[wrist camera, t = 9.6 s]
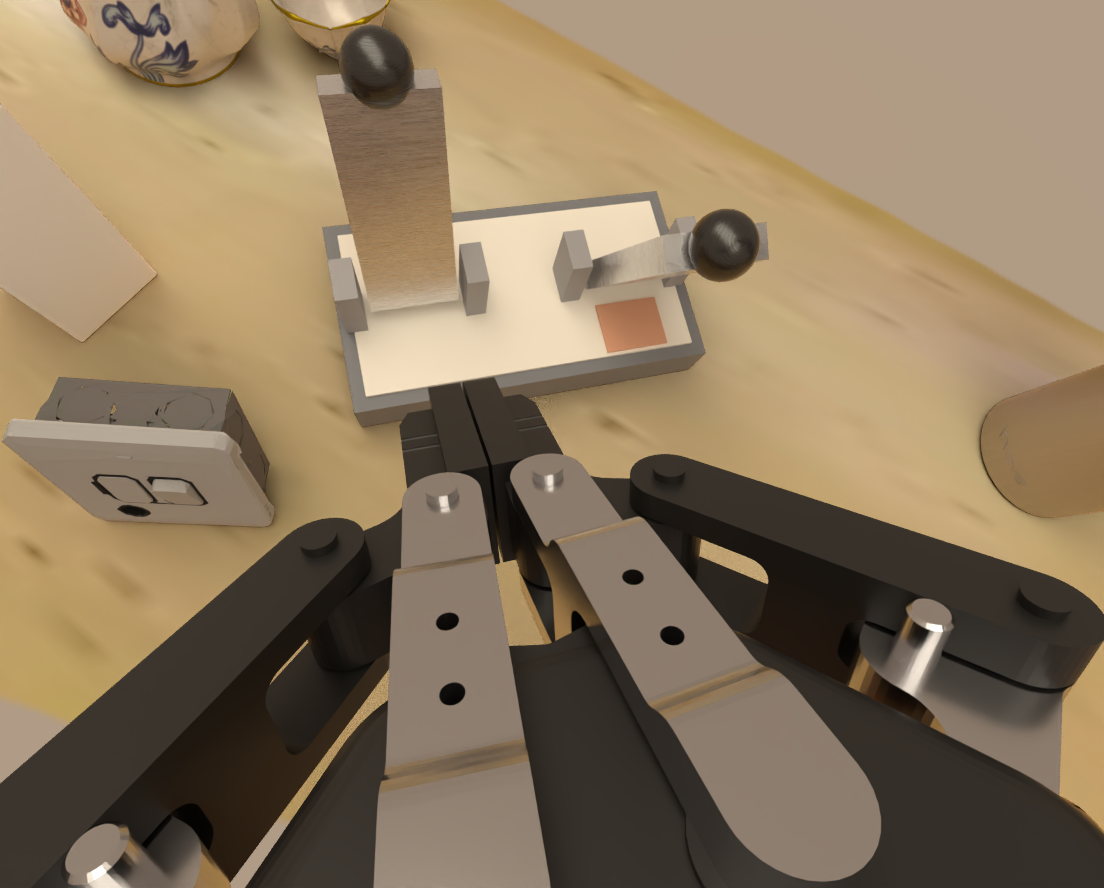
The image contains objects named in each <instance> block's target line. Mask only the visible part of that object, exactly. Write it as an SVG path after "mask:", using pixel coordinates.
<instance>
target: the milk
mask: <svg viewBox="0 0 1104 888" xmlns="http://www.w3.org/2000/svg"><path fill="white" fill-rule="evenodd" d="M156 275H157V273H156V272H155V270H154V269H153V268H152V267H151V266H150V265H149V264H148V263H147V262H146V261H145V260H144V258H143V257H142V256H141V255H140V254H139V253H138V252H137V251H136V250H135V249H134V248H133V246H132V245H131V244H130V243H129V242H128V241H127V240H126V239H125V238H124V237H123V236H122V235H121V233H120V232H119V231H118V230H117V229H116V228H115V227H114V226H113V225H112V224H111V223H110V222H109V220H108V219H107V218H106V217H105V216H104V215H103V214H102V213H101V212H100V211H99V210H98V209H97V207H96V206H95V205H94V204H93V203H92V202H91V201H90V200H89V199H88V198H87V197H86V195H85V194H84V193H83V192H82V191H81V190H80V189H79V188H78V187H77V186H76V185H75V184H74V182H73V181H72V180H71V179H70V178H69V177H68V176H67V175H66V174H65V173H64V172H63V171H62V169H61V168H60V167H59V166H58V165H57V164H56V163H55V162H54V161H53V160H52V159H51V158H50V156H49V155H48V154H47V153H46V152H45V151H44V150H43V149H42V148H41V147H40V146H39V144H38V143H37V142H36V141H35V140H34V139H33V138H32V137H31V136H30V135H29V134H28V133H27V131H26V130H25V129H24V128H23V127H22V126H21V125H20V124H19V123H18V122H17V121H16V120H15V118H14V117H13V116H12V115H11V114H10V113H9V112H8V111H7V110H6V109H5V108H4V106H3V105H2V104H1V103H0V288H2V289H3V290H5V291H6V292H8V293H9V294H11V295H12V296H13V297H15V298H16V299H18V300H19V301H21V302H22V303H24V304H25V305H27V306H28V307H30V308H31V309H33V310H34V311H36V312H37V313H39V314H40V315H42V316H43V317H45V318H46V319H47V320H49V321H50V322H52V323H53V324H55V325H56V326H58V327H59V328H61V329H62V330H64V331H65V332H67V333H68V334H70V335H71V336H73V337H74V338H76V339H77V340H79V341H80V342H84V341H85V340H86V339H87V338H88V337H89V336H91V335H92V334H93V333H94V332H95V331H96V330H97V329H98V328H99V327H100V326H102V325H103V324H104V323H105V322H106V321H107V320H108V319H109V318H110V317H111V316H112V315H114V314H115V313H116V312H117V311H118V310H119V309H120V308H121V307H122V306H123V305H124V304H126V303H127V302H128V301H129V300H130V299H131V298H132V297H133V296H134V295H135V294H137V293H138V292H139V291H140V290H141V289H142V288H143V287H144V286H145V285H146V284H147V283H149V282H150V281H151V280H152V279H153V278H154V277H155V276H156Z"/></svg>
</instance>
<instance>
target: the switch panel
mask: <svg viewBox="0 0 1104 888" xmlns="http://www.w3.org/2000/svg"><path fill="white" fill-rule="evenodd" d="M696 224H697V223H696V220H695V217H694V216H692V217H684V218H676V219H675V221H674V222H673V224H672V226H671V227H670V229H669V231H668V227H667V224H666V221H665V217H664V214H663V211H662V208H661V204H660V201H659V198H658V194H657V191H653V192H644V193H635V194H626V195H616V196H607V197H598V198H589V199H579V200H570V201H561V202H552V203H542V204H533V205H524V206H515V207H505V208H496V209H487V210H478V211H469V212H459V213H452V225H453V238H454V251H455V264H456V277H457V290H458V300H455V301H448V302H440V303H433V304H426V305H419V306H411V307H404V308H397V309H390V310H383V311H375V312H371V308H370V304H369V300H368V296H367V292H366V288H365V284H364V280H363V275H362V271H361V267H360V263H359V259H358V255H357V251H356V247H355V243H354V239H353V235H352V230H351V226H350V224H348V225H339V226H330V227H322V229H323V235H324V241H325V246H326V252H327V258H328V260H327V261H328V267H329V272H330V278H331V284H332V290H333V296H334V301H335V304H336V310H337V316H338V322H339V328H340V333H341V339H342V345H343V351H344V357H345V362H346V368H347V374H348V380H349V386H350V391H351V397H352V403H353V409H354V414H355V415H356V417H357V419H358V421H359V423H360V425H361V426H362V427H366V426H372V425H378V424H383V423H389V422H394V421H400V420H404V418H405V416H406V415H407V413H410V412H416V411H422V410H428V409H431V405H430V400H429V394H428V387H434V386H441V385H447V384H453V383H460V384H461V387H462V382H466V381H472V380H478V379H485V378H491V377H494V378H495V379H496V381H497V384H498V386H499V388H500V390H501V392H502V395H503V397H506V396H512V395H518V394H521V395H523V396H525V397H526V398H530V397H536V396H542V395H547V394H553V393H559V392H564V391H570V390H576V389H581V388H587V387H593V386H598V385H604V384H609V383H615V382H621V381H626V380H632V379H638V378H643V377H649V376H655V375H660V374H666V373H672V372H677V371H683V370H688V369H689V368H690V367H691V366H692V365H693V364H694V363H696V362H697V361H698V360H699V359H700V358H701V357H702V356H703V355H704V354H705V349H704V346H703V343H702V339H701V336H700V333H699V329H698V326H697V323H696V320H695V316H694V313H693V310H692V306H691V303H690V300H689V297H688V293H687V290H686V287H685V283H684V280H685V279H686V277H687V276H688V275H689V274H686V275H681V276H675V277H670V278H665V279H659V280H652V281H645V282H638V283H631V284H624V285H617V286H609V287H602V288H595V289H588V290H586V289H585V285H586V283H587V281H588V278H589V276H590V274H591V271H592V269H593V263H592V260H594V259H596V258H599V257H602V256H605V255H608V254H611V253H614V252H616V251H619V250H622V249H625V248H628V247H631V246H634V245H636V244H639V243H642V242H645V241H648V240H651V239H653V238H656V237H659V236H662V235H668V234H676V233H684V232H692V230H693V228H694V227H695V225H696ZM462 390H463V389H462Z"/></svg>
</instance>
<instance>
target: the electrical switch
mask: <svg viewBox="0 0 1104 888" xmlns="http://www.w3.org/2000/svg"><path fill="white" fill-rule="evenodd" d="M82 386H83V388H81V387H82ZM79 388H80V389H79ZM105 392H107V393H105ZM230 392H231V390H230V389H221V388H207V387H193V386H178V385H164V384H150V383H136V382H122V381H108V380H94V379H80V378H65V377H59V378H58V380H57V382H56V384H55V386H54V389H53V391H52V393H51V395H50V397H49V399H48V400H47V401H46V402H45V404H44V405H43V406H42V407H41V408H40V410H39V412H38V414H37V417H36V418H35V420H28V419H12V420H11V421H10V422H9V423H8V425H7V428H6V431H5V434H4V437H3V440H2V442H3V443H4V444H5V445H7V446H8V447H9V448H10V449H11V450H13V451H14V452H15V453H16V454H18V455H19V456H20V457H21V458H23V459H24V460H25V461H26V462H27V463H29V464H30V465H31V466H32V467H34V468H35V469H36V470H37V471H38V472H40V473H41V474H42V475H43V476H45V477H46V478H47V479H48V480H49V481H51V482H52V483H53V484H54V485H56V486H57V487H58V488H59V489H61V490H62V491H63V492H64V493H65V494H67V495H68V496H69V497H70V498H72V499H73V500H74V501H75V502H76V503H78V504H79V505H80V506H81V507H83V508H84V509H85V510H86V511H87V512H89V513H90V514H91V515H92V516H94V517H98V518H101V519H104V520H108V521H129V522H155V523H180V524H205V525H231V526H256V527H266V526H268V525H270V524H271V523H272V520H273V516H274V513H275V509H274V506H273V505H272V503H271V502H269V501H268V499H267V497H266V495H265V494H264V493H265V480H266V476H267V472H268V468H269V462H268V460H267V458H266V456H265V454H264V452H263V450H262V448H261V446H260V444H259V442H258V440H257V438H256V436H255V434H254V432H253V430H252V428H251V426H250V424H249V422H248V420H247V419H246V417H245V415H244V413H243V411H242V409H241V407H240V405H239V403H238V401H237V399H236V397H235V395H234V393H233V391H232V393H231V396H230ZM193 393H195V394H197V395H195V394H193ZM229 396H230V399H229ZM228 399H229V402H228ZM227 403H228V404H227ZM113 404H115V406H116V408H117V411H116V412H115V413H114V414H110V413H111V410H112V407H113ZM168 404H169V406H168V407H167V405H168ZM226 406H227V407H226ZM166 407H167V409H166ZM157 414H158V415H157ZM153 422H154V423H153ZM165 422H166V423H167V424H168V425H169V426H170V427H168V426H167V425H166V424H165ZM203 426H204V427H203ZM201 427H203V428H202V429H200V428H201ZM251 459H252V460H251ZM250 462H251V463H250Z"/></svg>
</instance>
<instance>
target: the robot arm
mask: <svg viewBox="0 0 1104 888" xmlns="http://www.w3.org/2000/svg"><path fill="white" fill-rule="evenodd" d="M462 389H463V390H462ZM428 394H429V400H430V405H431V409H428V410H422V411H416V412H410V413H407V415H406V416H405V418H404V420H403V421H402V423H401V424H400V434H401V441H402V450H403V458H404V466H405V474H406V483H407V490H406V492H405V494H404V496H403V501H402V508H401V509H400V510H399V511H398V512H397V513H396V514H395V515H394V516H393V517H391V518H390V519H388V520H386V521H385V522H383V523H381V524H379V525H377V526H374V527H372V528H369V529H367V530H365V531H363V529H362V528H361V527H360V526H359V525H358V524H357V523H355V522H354V521H351V520H348V519H343V518H327V519H321V520H317V521H313V522H311V523H308V524H305V525H303V526H301V527H299V528H297V529H296V530H294V531H293V532H291V533H290V534H289V535H287V536H286V537H285V538H284V539H283V540H281V541H280V542H279V543H278V544H277V545H276V546H275V547H273V548H272V549H271V550H270V551H269V552H268V553H266V554H265V555H264V556H263V557H262V558H261V559H259V560H258V561H257V562H256V563H255V564H254V565H253V566H251V567H250V568H249V569H248V570H247V571H246V572H244V573H243V574H242V575H241V576H240V577H239V578H238V579H236V580H235V581H234V582H233V583H232V584H231V585H229V586H228V587H227V588H226V589H225V590H224V591H222V592H221V593H220V594H219V595H218V596H217V597H216V598H214V599H213V600H212V601H211V602H210V603H209V604H207V605H206V606H205V607H204V608H203V609H202V610H200V611H199V612H198V613H197V614H196V615H195V616H194V617H192V618H191V619H190V620H189V621H188V622H187V623H185V624H184V625H183V626H182V627H181V628H180V629H179V630H177V631H176V632H175V633H174V634H173V635H172V636H170V637H169V638H168V639H167V640H166V641H165V642H163V643H162V644H161V645H160V646H159V647H158V648H157V649H155V650H154V651H153V652H152V653H151V654H150V655H148V656H147V657H146V658H145V659H144V660H143V661H141V662H140V663H139V664H138V665H137V666H136V667H135V668H133V669H132V670H131V671H130V672H129V673H128V674H126V675H125V676H124V677H123V678H122V679H121V680H120V681H118V682H117V683H116V684H115V685H114V686H113V687H111V688H110V689H109V690H108V691H107V692H106V693H104V694H103V695H102V696H101V697H100V698H99V699H98V700H96V701H95V702H94V703H93V704H92V705H91V706H89V707H88V708H87V709H86V710H85V711H84V712H82V713H81V714H80V715H79V716H78V717H77V718H76V719H74V720H73V721H72V722H71V723H70V724H69V725H67V726H66V727H65V728H64V729H63V730H62V731H61V732H60V733H58V734H57V735H56V736H55V737H54V738H52V740H50V741H49V742H48V743H47V744H45V745H44V746H43V747H42V748H41V749H40V750H39V751H37V752H36V753H35V754H34V755H33V756H32V757H30V758H29V759H28V760H27V761H26V762H25V763H23V764H22V765H21V766H20V767H19V768H18V769H17V770H15V771H14V772H13V773H12V774H11V775H10V776H9V777H7V778H6V779H5V780H4V781H3V782H2V783H1V784H0V888H231V885H230V882H231V881H232V880H233V878H234V877H235V875H236V874H237V873H238V871H239V870H240V868H241V867H242V866H243V865H244V863H245V862H246V861H247V859H248V858H249V856H250V855H251V854H252V853H253V851H254V850H255V849H256V847H257V846H258V845H259V843H260V842H261V840H262V839H263V838H264V836H265V835H266V834H267V832H268V831H269V830H270V828H271V827H272V826H273V824H274V823H275V822H276V820H277V819H278V818H279V816H280V815H281V814H282V812H283V811H284V810H285V808H286V807H287V805H288V804H289V803H290V801H291V800H292V799H293V797H294V796H295V795H296V793H297V792H298V791H299V789H300V788H301V787H302V785H303V784H304V783H305V781H306V780H307V779H308V777H309V776H310V775H311V773H312V772H313V770H314V769H315V768H316V766H317V765H318V764H319V762H320V761H321V760H322V758H323V757H324V756H325V754H326V753H327V752H328V750H329V749H330V748H331V746H332V745H333V744H334V742H335V741H336V740H337V738H338V737H339V735H340V734H341V733H342V731H343V730H344V729H345V727H346V726H347V725H348V723H349V722H350V721H351V719H352V718H353V717H354V715H355V714H356V713H357V711H358V710H359V709H360V707H361V706H362V705H363V703H364V702H365V700H366V699H367V698H368V696H369V695H370V694H371V692H372V691H373V690H374V688H375V687H376V686H377V684H378V683H379V682H380V680H381V679H382V678H383V676H384V675H385V674H386V672H387V671H388V669H389V691H388V700H387V701H386V702H385V703H384V704H382V705H381V706H380V707H378V708H377V709H376V710H375V711H373V712H372V713H371V714H370V715H369V716H368V717H367V718H366V719H365V720H364V721H363V722H362V723H361V724H360V725H359V726H358V727H357V728H356V730H355V731H354V732H353V733H352V734H351V735H350V736H349V738H348V739H347V740H346V742H345V743H344V744H343V746H342V747H341V749H340V750H339V751H338V753H337V754H336V756H335V757H334V759H333V760H332V762H331V763H330V765H329V766H328V768H327V769H326V770H325V772H324V773H323V775H322V776H321V778H320V779H319V781H318V782H317V784H316V785H315V787H314V788H313V789H312V791H311V792H310V794H309V795H308V797H307V798H306V800H305V801H304V803H303V804H302V805H301V807H300V808H299V810H298V811H297V813H296V814H295V816H294V817H293V819H292V820H291V822H290V823H289V824H288V826H287V827H286V829H285V830H284V832H283V833H282V835H281V836H280V838H279V839H278V841H277V842H276V843H275V845H274V846H273V848H272V849H271V851H270V852H269V854H268V855H267V857H266V858H265V859H264V861H263V862H262V864H261V866H260V867H259V868H258V870H257V871H256V873H255V874H254V876H253V877H252V879H251V880H250V881H249V883H248V884H247V886H246V887H245V888H1104V834H1103V833H1102V832H1101V831H1100V830H1099V829H1098V828H1097V827H1096V826H1095V825H1094V824H1093V823H1092V822H1091V821H1090V820H1088V819H1087V818H1086V817H1085V816H1084V815H1083V814H1082V813H1081V812H1080V811H1078V810H1077V809H1076V808H1075V807H1073V806H1072V805H1071V804H1069V803H1068V802H1067V801H1066V800H1064V799H1063V798H1062V797H1060V796H1059V786H1060V756H1061V725H1062V702H1063V701H1064V699H1065V698H1066V696H1067V695H1068V693H1069V692H1070V690H1071V689H1072V687H1073V686H1074V684H1075V683H1076V681H1077V680H1078V678H1079V677H1080V675H1081V674H1082V672H1083V671H1084V669H1085V668H1086V666H1087V665H1088V663H1089V662H1090V660H1091V659H1092V657H1093V656H1094V654H1095V653H1096V651H1097V650H1098V648H1099V647H1100V645H1101V644H1102V642H1103V641H1104V614H1103V613H1102V611H1101V610H1100V609H1099V608H1098V606H1097V605H1096V604H1095V603H1094V602H1093V601H1092V600H1091V599H1089V598H1088V597H1087V596H1085V595H1084V594H1083V593H1082V592H1080V591H1078V590H1077V589H1075V588H1074V587H1072V586H1070V585H1068V584H1067V583H1065V582H1063V581H1061V580H1058V579H1056V578H1054V577H1051V576H1048V575H1046V574H1043V573H1040V572H1037V571H1034V570H1031V569H1027V568H1024V567H1021V566H1018V565H1015V564H1012V563H1009V562H1006V561H1003V560H1000V559H997V558H994V557H991V556H987V555H984V554H981V553H978V552H975V551H972V550H969V549H966V548H963V547H960V546H957V545H954V544H951V543H947V542H944V541H941V540H938V539H935V538H932V537H929V536H926V535H923V534H920V533H917V532H914V531H911V530H907V529H904V528H901V527H898V526H895V525H892V524H889V523H886V522H883V521H880V520H877V519H874V518H871V517H867V516H864V515H861V514H858V513H855V512H852V511H849V510H846V509H843V508H840V507H837V506H834V505H831V504H827V503H824V502H821V501H818V500H815V499H812V498H809V497H806V496H803V495H800V494H797V493H794V492H791V491H787V490H784V489H781V488H778V487H775V486H772V485H769V484H766V483H763V482H760V481H757V480H754V479H751V478H747V477H744V476H741V475H738V474H735V473H732V472H729V471H726V470H723V469H720V468H717V467H714V466H711V465H708V464H704V463H701V462H698V461H695V460H692V459H689V458H686V457H682V456H678V455H670V454H660V455H653V456H649V457H646V458H643V459H641V460H639V461H638V462H637V463H635V464H634V466H633V467H632V469H631V472H630V479H624V478H599V477H593V476H590V475H589V474H588V472H587V471H586V470H585V468H584V467H583V466H582V464H581V463H580V462H578V461H577V460H575V459H573V458H571V457H569V456H566V455H563V453H562V451H561V449H560V447H559V445H558V444H557V442H556V440H555V438H554V436H553V435H552V433H551V431H550V429H549V427H547V424H546V422H545V420H544V418H543V417H542V414H541V413H540V411H539V409H538V407H537V405H536V403H535V402H533V401H531V400H530V399H528V398H526V397H525V396H523V395H521V394H518V395H512V396H506V397H503V395H502V392H501V390H500V388H499V386H498V384H497V381H496V379H495V378H494V377H491V378H485V379H478V380H472V381H466V382H462V387H461V384H460V383H453V384H447V385H441V386H434V387H428ZM981 451H982V456H983V460H984V464H985V466H986V469H987V471H988V473H989V476H990V477H991V479H992V481H993V482H994V484H995V485H996V487H997V488H998V489H999V491H1000V492H1001V493H1002V494H1003V495H1004V496H1005V497H1006V498H1007V499H1008V500H1009V501H1010V502H1012V503H1013V504H1014V505H1015V506H1016V507H1018V508H1020V509H1022V510H1024V511H1025V512H1027V513H1030V514H1033V515H1036V516H1039V517H1048V518H1055V517H1063V516H1071V515H1079V514H1087V513H1095V512H1103V511H1104V365H1101V366H1098V367H1095V368H1093V369H1090V370H1087V371H1084V372H1081V373H1078V374H1076V375H1073V376H1070V377H1067V378H1064V379H1061V380H1058V381H1055V382H1052V383H1050V384H1047V385H1044V386H1041V387H1038V388H1036V389H1033V390H1030V391H1027V392H1025V393H1022V394H1019V395H1016V396H1013V397H1011V398H1008V399H1005V400H1002V401H1001V402H1000V403H998V404H997V405H995V406H994V407H993V408H992V410H991V411H990V412H989V413H988V415H987V417H986V419H985V421H984V424H983V427H982V433H981ZM701 539H703V540H706V541H708V542H711V543H713V544H716V545H718V546H721V547H723V548H726V549H728V550H731V551H733V552H736V553H738V554H741V555H743V556H746V557H748V558H751V559H753V560H755V561H756V562H757V563H759V564H760V565H761V566H762V567H763V568H764V570H765V571H766V573H767V575H768V580H769V581H768V584H765V583H763V582H760V581H758V580H755V579H753V578H751V577H748V576H746V575H743V574H741V573H738V572H736V571H734V570H731V569H729V568H726V567H724V566H721V565H719V564H717V563H714V562H712V561H709V560H707V559H705V558H702V557H700V556H699V553H700V544H701ZM498 546H499V550H500V553H501V556H502V560H503V562H507V561H511V560H517V564H518V567H519V573H520V583H521V590H522V593H523V595H524V597H525V600H526V602H527V604H528V606H529V609H530V611H531V613H532V616H533V618H534V620H535V622H536V625H537V627H538V629H539V632H540V634H541V636H542V639H543V641H544V643H545V645H526V646H509V644H508V638H507V633H506V627H505V621H504V615H503V609H502V603H501V597H500V591H499V585H498V580H497V574H496V568H495V564H499V563H500V559H499V550H498ZM306 640H308V644H307V645H306V646H305V647H304V648H303V649H302V650H301V651H300V652H299V653H298V655H297V656H296V657H295V658H294V659H293V660H292V661H291V662H290V663H289V664H288V665H287V667H286V668H285V669H284V670H283V671H282V672H281V673H280V674H279V675H278V676H277V678H276V679H275V680H274V681H273V682H272V683H271V681H272V679H273V677H274V676H275V674H276V673H277V672H278V671H279V670H280V668H281V667H282V666H283V665H284V664H285V663H286V662H287V661H288V660H289V659H290V658H291V657H292V655H293V654H294V653H295V652H296V651H297V650H298V649H299V648H300V647H301V646H302V645H303V643H304V642H305V641H306ZM270 683H271V684H270Z"/></svg>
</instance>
